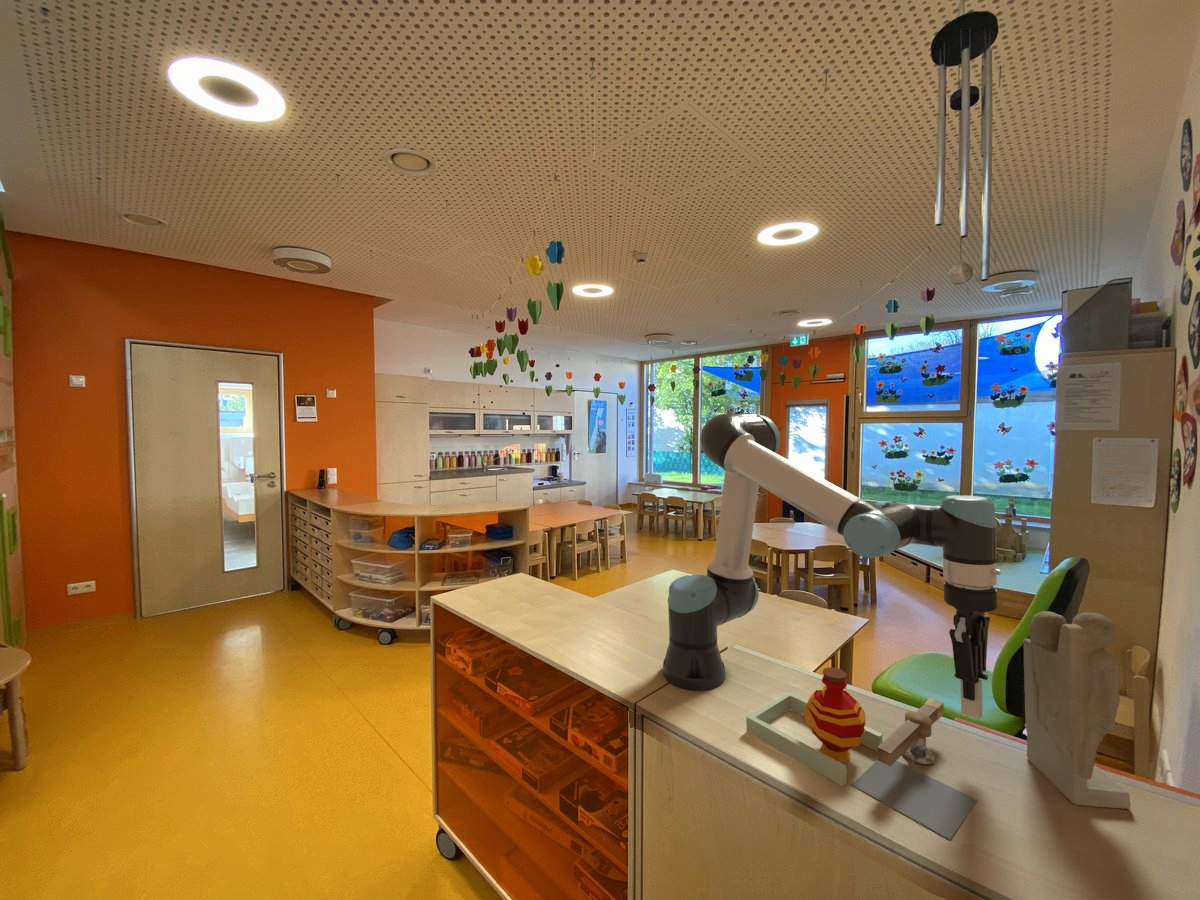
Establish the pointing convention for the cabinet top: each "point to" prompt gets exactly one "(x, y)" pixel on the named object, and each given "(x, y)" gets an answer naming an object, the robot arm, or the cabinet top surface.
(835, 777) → the channel
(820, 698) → the potion bottle
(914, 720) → the turn bar
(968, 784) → the cabinet top surface
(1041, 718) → the sculpture
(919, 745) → the metal pivot base
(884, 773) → the mat
